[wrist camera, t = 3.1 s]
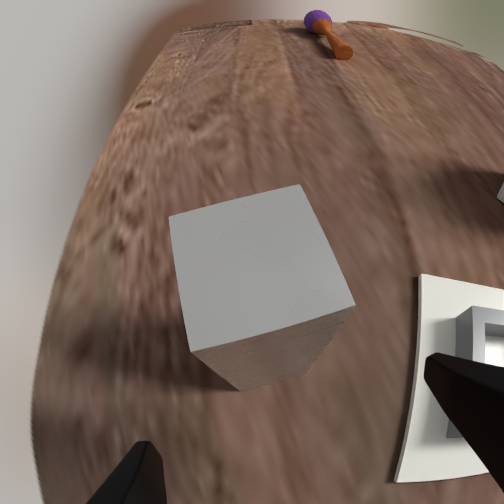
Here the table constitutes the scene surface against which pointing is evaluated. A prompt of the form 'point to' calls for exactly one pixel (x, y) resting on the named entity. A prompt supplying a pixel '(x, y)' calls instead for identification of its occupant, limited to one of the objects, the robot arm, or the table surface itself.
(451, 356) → the robot arm
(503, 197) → the supplement box
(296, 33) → the table surface
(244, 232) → the square peg
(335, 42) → the kendama
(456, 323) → the dock board
